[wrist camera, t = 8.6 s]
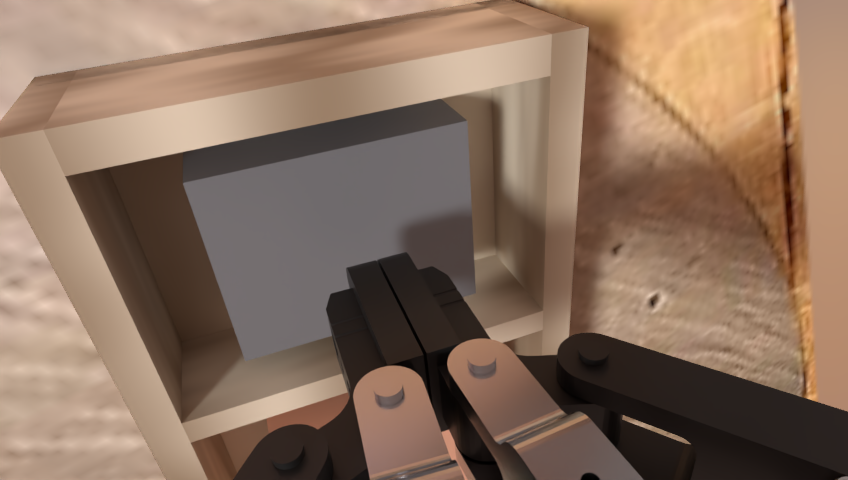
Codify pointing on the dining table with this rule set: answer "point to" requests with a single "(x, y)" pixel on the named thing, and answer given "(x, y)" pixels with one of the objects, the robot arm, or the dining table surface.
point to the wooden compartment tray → (270, 113)
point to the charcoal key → (329, 214)
